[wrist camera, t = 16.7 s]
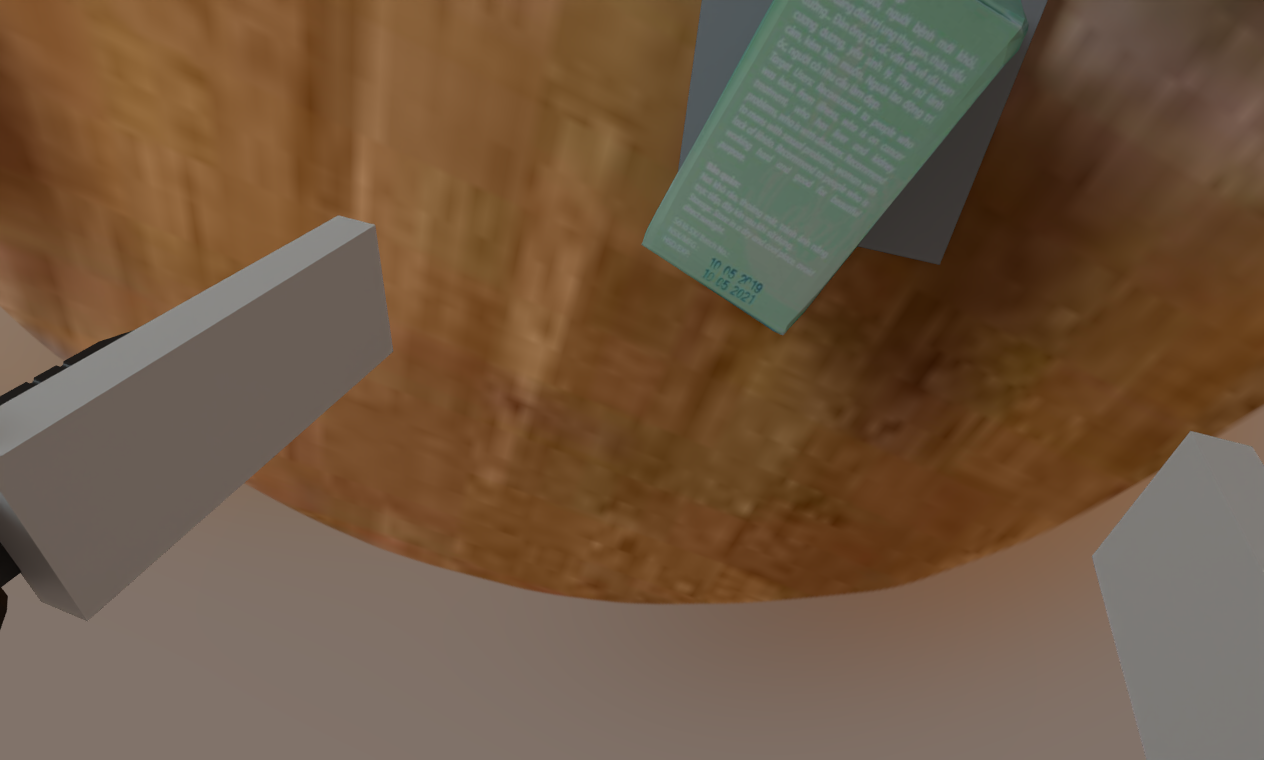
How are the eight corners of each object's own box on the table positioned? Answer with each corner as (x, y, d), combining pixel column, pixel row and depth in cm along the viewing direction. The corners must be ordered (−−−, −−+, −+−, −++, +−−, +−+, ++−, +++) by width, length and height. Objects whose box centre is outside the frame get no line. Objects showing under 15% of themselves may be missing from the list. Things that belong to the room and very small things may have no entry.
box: (1017, -6, 25) (1045, 22, 20) (807, 268, 34) (784, 344, 28) (851, -112, 25) (829, -114, 20) (683, 190, 34) (633, 249, 28)
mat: (722, -111, 27) (717, -111, 27) (1070, -67, 25) (1074, -66, 24) (677, 199, 35) (673, 204, 34) (939, 257, 32) (939, 264, 32)
